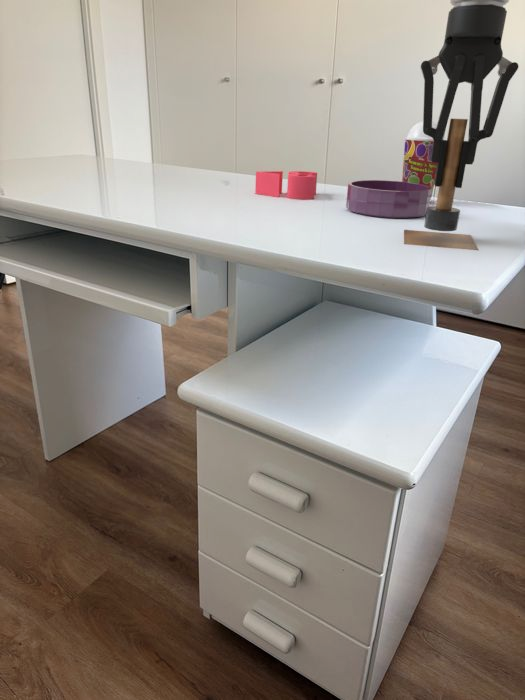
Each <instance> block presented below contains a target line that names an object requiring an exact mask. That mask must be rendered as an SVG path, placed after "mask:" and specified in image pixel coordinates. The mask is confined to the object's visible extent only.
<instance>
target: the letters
mask: <svg viewBox="0 0 525 700" xmlns="http://www.w3.org/2000/svg"><path fill="white" fill-rule="evenodd" d="M283 173H284V171H283V170H276V171H275V170H269V171H266V170H265V171H263V170H262V171H255V191H254V192H255V193H254V194H256V195H261V194H262V195H263V196H268V195H269V197H274V198H275V197H276V198H279V197H280V194H282V193H283V177H284V176H283V175H284V174H283ZM317 182H318V172H316V171H302V170H301V171H300V170H299V171H298V170H295V171H288V174H287V189H286V198H287V199H292V200H315V195H317V194H316V193H317Z"/></svg>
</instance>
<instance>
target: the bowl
mask: <svg viewBox="0 0 525 700" xmlns="http://www.w3.org/2000/svg"><path fill="white" fill-rule="evenodd" d="M431 194H432V195H433V192H432V187H430V186H427V185H423V184H418V183H411V182H402V180H401V181H400V180H388V179H387V180H386V179H362V180H361V179H360V180H353V181H349V182H348V183H347V193H346V201H345V202H346V204H345V208H346V209H347V210H349V212H352V213H355V214H358V215H361V216H367V217H372V218H373V217H374V218H384V219H414V218H420V217H423V218H424V216H426V212H427V207H430V206H431V201H432V196H431Z"/></svg>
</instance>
